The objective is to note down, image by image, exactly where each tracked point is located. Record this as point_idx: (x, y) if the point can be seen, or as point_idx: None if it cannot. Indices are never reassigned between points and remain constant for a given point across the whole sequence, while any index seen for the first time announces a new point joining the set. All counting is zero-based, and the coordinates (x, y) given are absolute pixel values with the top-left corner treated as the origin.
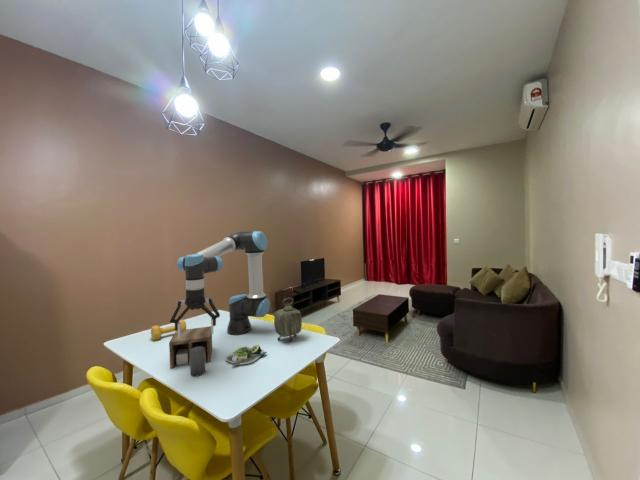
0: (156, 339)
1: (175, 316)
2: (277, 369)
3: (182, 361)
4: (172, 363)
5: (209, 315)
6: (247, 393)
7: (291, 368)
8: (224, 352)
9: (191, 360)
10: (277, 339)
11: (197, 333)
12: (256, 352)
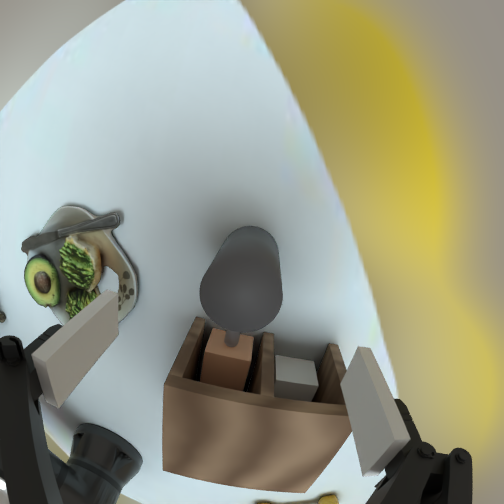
0: (329, 496)
1: (449, 502)
2: (24, 130)
3: (294, 363)
4: (333, 354)
5: (28, 407)
6: (127, 29)
7: (3, 121)
8: (144, 355)
9: (276, 260)
10: (4, 319)
11: (223, 447)
12: (39, 254)
